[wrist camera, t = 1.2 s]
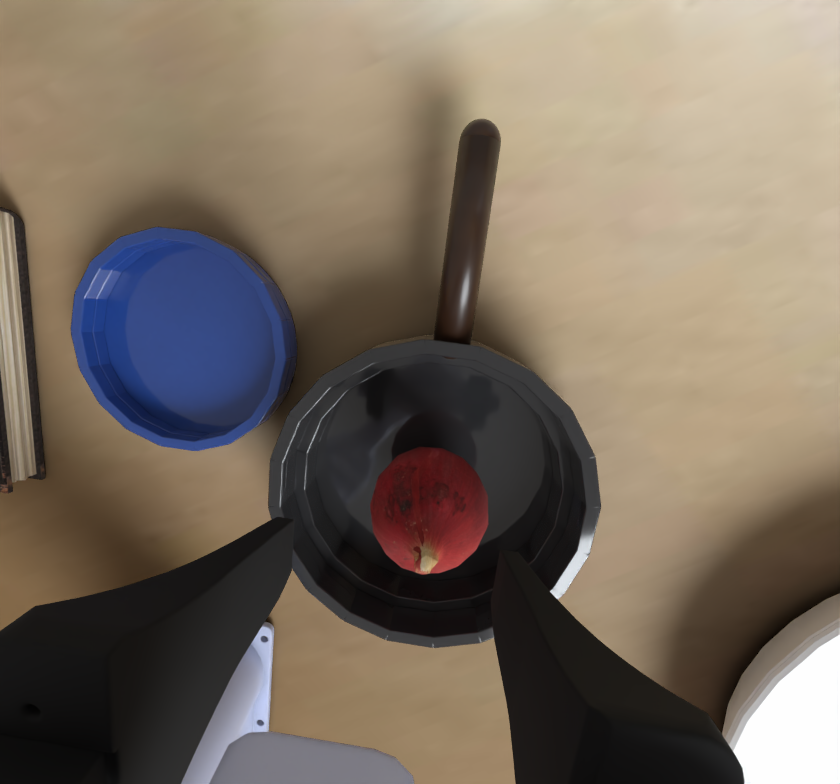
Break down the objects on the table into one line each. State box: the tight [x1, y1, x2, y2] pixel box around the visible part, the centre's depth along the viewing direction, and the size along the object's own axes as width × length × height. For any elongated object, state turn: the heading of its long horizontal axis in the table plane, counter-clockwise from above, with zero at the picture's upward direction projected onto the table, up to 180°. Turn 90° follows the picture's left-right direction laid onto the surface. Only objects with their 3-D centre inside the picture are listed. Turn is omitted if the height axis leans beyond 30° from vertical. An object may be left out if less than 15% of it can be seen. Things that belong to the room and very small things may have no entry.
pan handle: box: [434, 119, 501, 359], centre depth 18 cm, size 10×2×2 cm, turn 173°
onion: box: [370, 447, 488, 575], centre depth 19 cm, size 6×6×8 cm
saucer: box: [71, 227, 297, 451], centre depth 22 cm, size 12×12×2 cm
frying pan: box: [268, 335, 601, 648], centre depth 21 cm, size 16×16×4 cm
